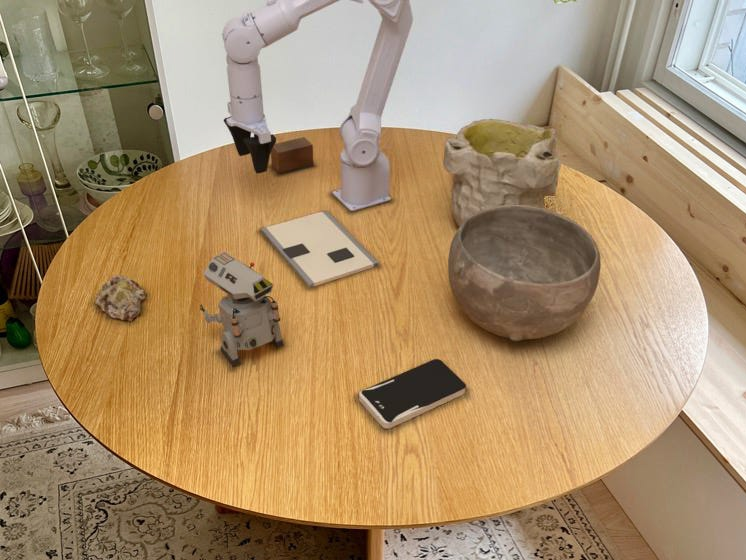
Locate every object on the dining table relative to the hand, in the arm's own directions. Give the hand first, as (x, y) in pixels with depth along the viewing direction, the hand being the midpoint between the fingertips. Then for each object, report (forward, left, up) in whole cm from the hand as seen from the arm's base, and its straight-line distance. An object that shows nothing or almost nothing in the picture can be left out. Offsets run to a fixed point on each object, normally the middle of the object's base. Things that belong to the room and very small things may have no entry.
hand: (252, 163), depth 143 cm
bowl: (-23, +52, -10) cm, 58 cm away
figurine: (+19, +37, -10) cm, 42 cm away
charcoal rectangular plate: (-6, +24, -9) cm, 26 cm away
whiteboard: (-4, +19, -9) cm, 21 cm away
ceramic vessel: (-39, +27, -10) cm, 49 cm away
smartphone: (+2, +60, -10) cm, 61 cm away
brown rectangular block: (-13, -11, -9) cm, 20 cm away
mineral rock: (+33, +18, -10) cm, 38 cm away
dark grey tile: (+1, +19, -9) cm, 21 cm away
